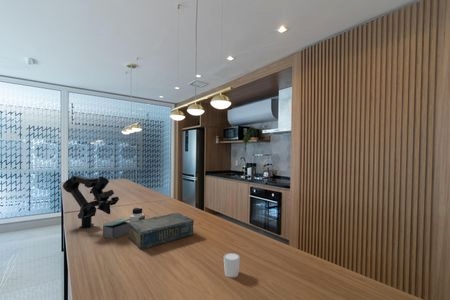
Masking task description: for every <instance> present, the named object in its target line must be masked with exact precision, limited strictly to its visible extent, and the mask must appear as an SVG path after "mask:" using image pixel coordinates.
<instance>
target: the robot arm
mask: <svg viewBox="0 0 450 300" xmlns="http://www.w3.org/2000/svg"><path fill="white" fill-rule="evenodd" d="M109 182H110V181H109V179H108V178H106V177H104V176H99V178H98V177H97V178H96V177H95V178H92V177H91V178H89V177H85V176H82V175H72V176H71V177H70V178H68V179H66V180H65V181H64V183H63V184H62V188H63V189H64V191H65V192H67V193H70V194H71V195H72V197H73V198H74V200H75V202H76V203H77V204H78V206H79V207H80V209H79V213H78V214H77V218H78V219H80V220H81V225H80V226H79V227H78V228H79V229H84V228H85V229H86V228H88V229H89V228H91V227H92V226H93V225H95V224H94V223H92V220H93V219H92V217H95V216H96V213H97V210H99V211H101V212H103V213H105V214H107V215H111V206H115V205H117V203H118V202H119V200H120V198H119V197H118V196H113V195H114V194H115V192H114V190H113V189H109V190H107V191H103V190H104V189H105V188H106V187H107V185H108V184H109ZM81 184H82V185H84V187H85V188H87V189H89V188H90V191H89V194H92V196H93V197H94V198H93V200H91V201H90V202H88V200H87V199H86V198H85V196H84V195H83V193H82V192H81V191H80V189H79V188H80V185H81ZM110 197H111V198H110ZM96 207H97V208H96Z"/></svg>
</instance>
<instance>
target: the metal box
mask: <svg viewBox="0 0 450 300" xmlns="http://www.w3.org/2000/svg"><path fill="white" fill-rule="evenodd" d="M128 222H129V233H128V239H129V240H130V241H131V242H132V243H133V244H135V245H136V246H137V248H138V249H140V250H141V251H142V250H146V249H150V248H153V247H154V248H155V247H156V246H161V245H164V244H167V243H171V242H174V241H177V240H180V239H184V238H188V237H192V236H193V235H194V223H195V220H194V219H193V218H191V217H188V216H186V215H184V214H182V213H181V212H180V213H179V212H173V213H172V212H171V213H169V214H164V215H158V216H153V217H149V218H145V219H144V220H137V221H133V222H130V221H128Z"/></svg>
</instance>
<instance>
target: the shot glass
mask: <svg viewBox="0 0 450 300" xmlns="http://www.w3.org/2000/svg"><path fill="white" fill-rule="evenodd" d="M240 259H241V256H240V255H239V254H237V253H234V252H229V253H225V254H224V255H223V265H224V266H223V267H224V269H223V270H224V275H225V276H226V277H228V278H236V277H238V276H239V271H240V261H241V260H240Z"/></svg>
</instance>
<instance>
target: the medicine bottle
mask: <svg viewBox="0 0 450 300" xmlns="http://www.w3.org/2000/svg"><path fill="white" fill-rule="evenodd" d="M129 218H130V220H129V222H133V221H137V220H144V219H146V214H144V213H143V208H142V207H134V208H133V209H132V215H130V216H129Z"/></svg>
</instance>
